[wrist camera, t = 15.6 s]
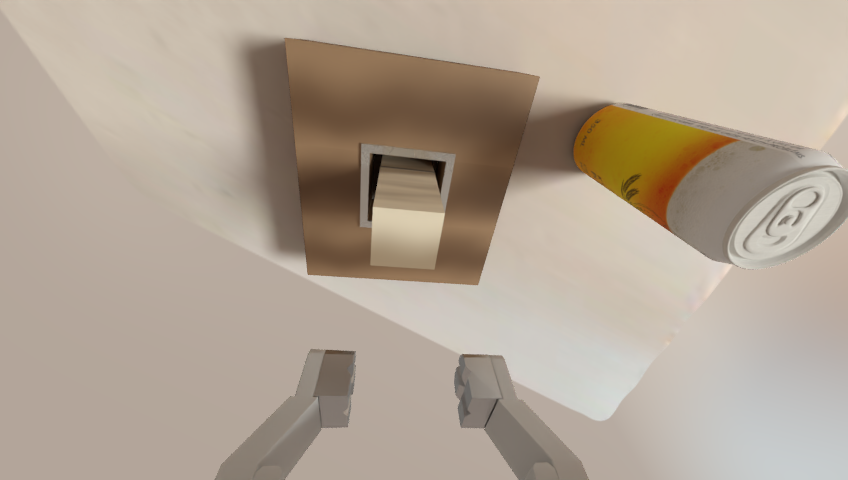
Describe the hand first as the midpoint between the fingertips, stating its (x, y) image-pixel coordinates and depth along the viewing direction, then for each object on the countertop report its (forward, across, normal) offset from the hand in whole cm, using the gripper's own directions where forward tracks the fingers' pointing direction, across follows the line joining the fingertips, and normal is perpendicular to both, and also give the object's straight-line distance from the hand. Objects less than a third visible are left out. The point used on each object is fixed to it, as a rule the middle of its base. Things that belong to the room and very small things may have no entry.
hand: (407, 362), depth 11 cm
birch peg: (+19, 0, 0) cm, 19 cm away
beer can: (+19, -17, -5) cm, 26 cm away
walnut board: (+19, 0, 0) cm, 19 cm away
